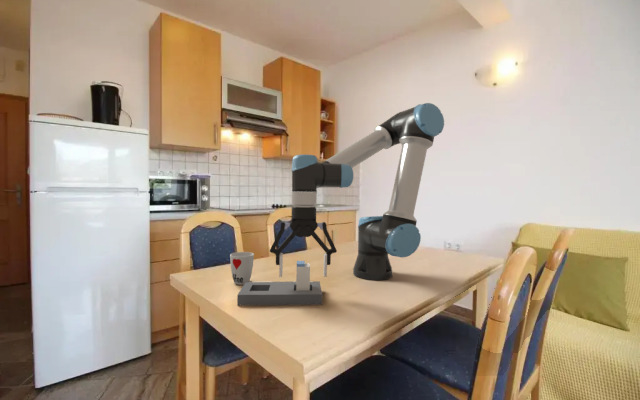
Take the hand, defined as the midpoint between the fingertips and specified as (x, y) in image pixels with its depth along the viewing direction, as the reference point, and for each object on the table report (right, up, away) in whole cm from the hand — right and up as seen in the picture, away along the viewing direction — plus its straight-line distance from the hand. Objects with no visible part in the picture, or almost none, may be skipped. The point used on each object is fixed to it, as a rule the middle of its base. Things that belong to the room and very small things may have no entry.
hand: (303, 275), depth 90 cm
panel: (-7, -7, 0) cm, 9 cm away
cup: (-22, -6, +14) cm, 27 cm away
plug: (0, -7, 0) cm, 7 cm away
